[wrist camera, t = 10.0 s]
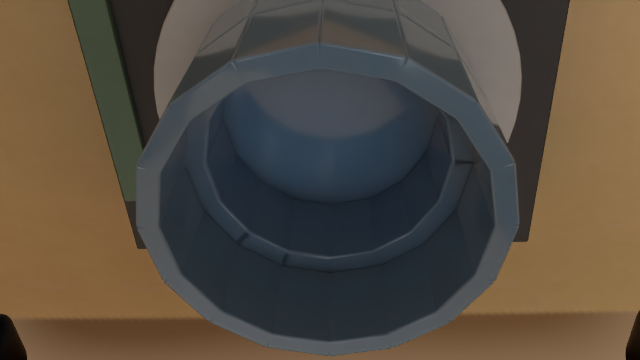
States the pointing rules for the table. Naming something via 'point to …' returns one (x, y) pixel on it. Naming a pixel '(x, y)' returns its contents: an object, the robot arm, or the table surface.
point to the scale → (209, 3)
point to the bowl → (328, 177)
